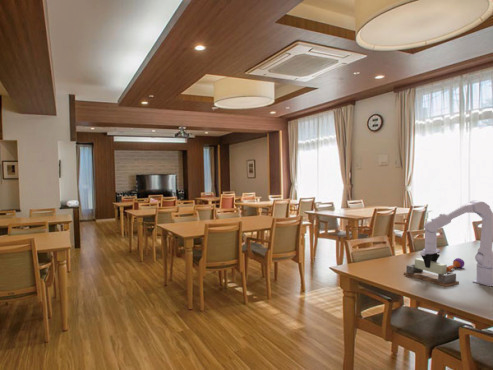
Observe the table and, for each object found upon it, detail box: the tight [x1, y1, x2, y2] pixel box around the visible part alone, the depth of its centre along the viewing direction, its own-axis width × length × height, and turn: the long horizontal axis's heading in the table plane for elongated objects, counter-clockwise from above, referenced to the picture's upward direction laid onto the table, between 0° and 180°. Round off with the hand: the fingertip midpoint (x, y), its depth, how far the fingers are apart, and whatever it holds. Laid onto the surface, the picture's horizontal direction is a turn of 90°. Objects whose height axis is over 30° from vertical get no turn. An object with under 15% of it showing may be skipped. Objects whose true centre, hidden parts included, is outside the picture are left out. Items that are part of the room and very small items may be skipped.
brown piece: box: [446, 257, 465, 273], centre depth 205 cm, size 6×6×20 cm
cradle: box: [403, 263, 460, 288], centre depth 186 cm, size 25×11×5 cm, turn 27°
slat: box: [414, 257, 448, 275], centre depth 186 cm, size 16×4×5 cm, turn 27°
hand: (430, 267), depth 186 cm, fingers closed on slat, 4 cm apart
